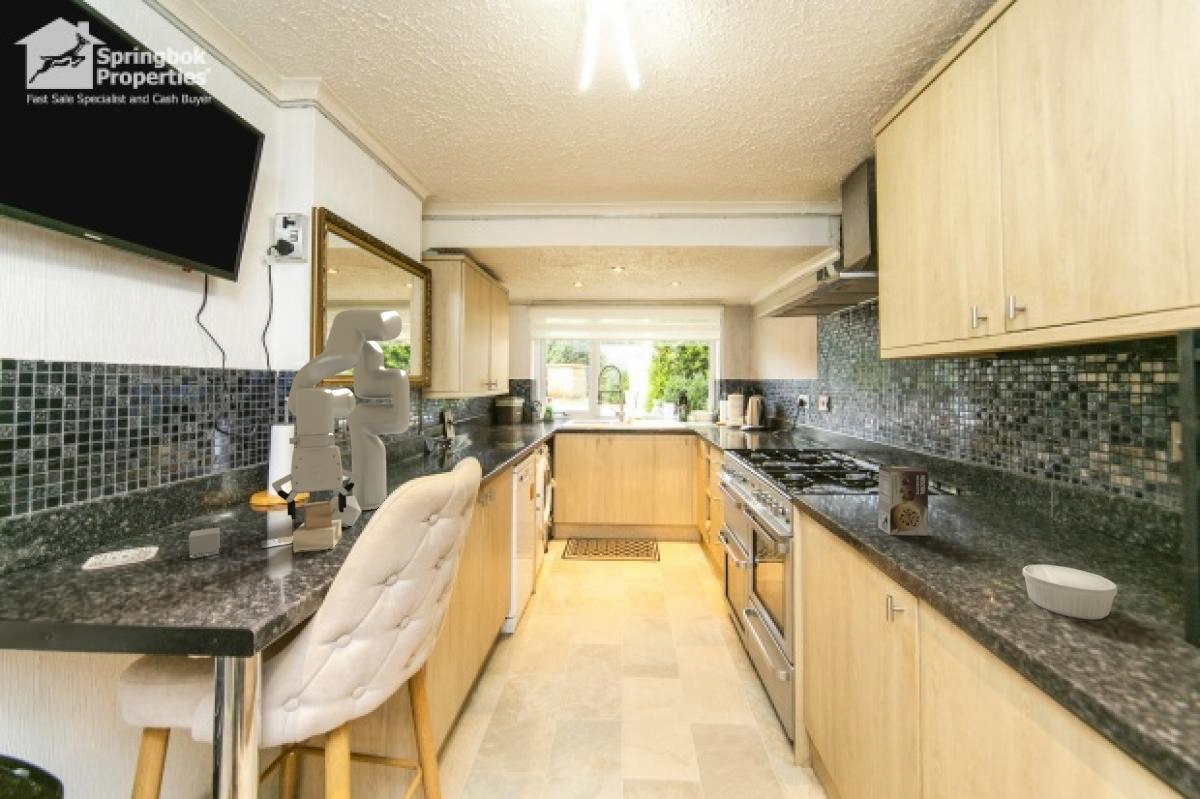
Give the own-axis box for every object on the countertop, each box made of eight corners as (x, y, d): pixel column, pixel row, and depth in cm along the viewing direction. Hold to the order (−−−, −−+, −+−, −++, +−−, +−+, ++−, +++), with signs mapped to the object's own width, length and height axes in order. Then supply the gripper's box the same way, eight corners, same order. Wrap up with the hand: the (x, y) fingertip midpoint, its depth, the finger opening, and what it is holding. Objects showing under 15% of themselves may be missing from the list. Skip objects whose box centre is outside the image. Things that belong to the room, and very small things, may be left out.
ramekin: (1004, 593, 86) (1005, 564, 85) (1063, 591, 86) (1064, 562, 86) (1070, 625, 74) (1071, 591, 74) (1136, 622, 75) (1138, 589, 75)
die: (321, 528, 128) (313, 504, 122) (346, 506, 134) (340, 482, 129) (344, 541, 126) (338, 518, 120) (370, 518, 133) (364, 495, 127)
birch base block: (304, 543, 115) (303, 522, 115) (341, 539, 117) (341, 519, 117) (293, 554, 107) (292, 532, 107) (333, 550, 109) (332, 529, 109)
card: (260, 542, 114) (260, 540, 114) (299, 536, 119) (299, 534, 119) (260, 549, 110) (260, 547, 110) (301, 542, 114) (301, 540, 114)
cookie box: (914, 528, 124) (915, 466, 123) (928, 536, 117) (930, 470, 117) (876, 527, 124) (877, 465, 124) (889, 535, 118) (890, 470, 117)
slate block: (191, 553, 108) (191, 531, 107) (220, 548, 110) (219, 527, 110) (189, 560, 103) (188, 537, 103) (219, 554, 106) (218, 532, 106)
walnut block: (304, 525, 112) (303, 503, 112) (328, 521, 115) (328, 500, 115) (306, 530, 108) (306, 508, 108) (331, 526, 111) (331, 504, 111)
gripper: (271, 446, 103) (273, 525, 104) (360, 440, 113) (361, 512, 114) (270, 442, 109) (272, 517, 110) (354, 437, 119) (356, 505, 120)
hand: (317, 514), depth 112 cm, fingers open, 9 cm apart
